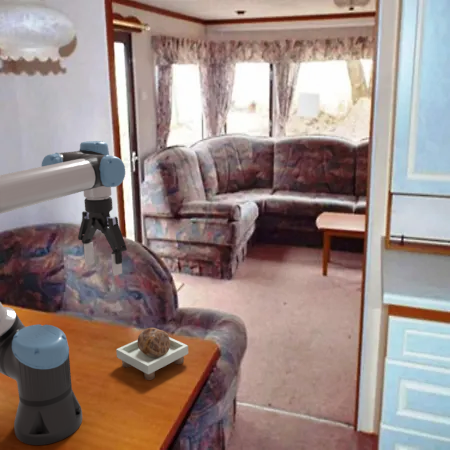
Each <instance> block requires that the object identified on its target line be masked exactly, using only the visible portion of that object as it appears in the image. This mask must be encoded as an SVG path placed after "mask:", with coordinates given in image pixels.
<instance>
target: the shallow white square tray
mask: <svg viewBox="0 0 450 450" xmlns="http://www.w3.org/2000/svg"><path fill="white" fill-rule="evenodd" d="M169 339H170V348H169V350H168V352H167V353H166V354H165V355H164V356H161V357H151V356H147V355H145V354H144V353H142V352H141V351H140V349H139V347H138V339H136V340H134V341H132V342H129V343H127V344H125V345H122V346H121V347H118V348H116V350H115V351H116V358H118V359H119V360H121V365H122V367H123V368H130V367H133V368H136V369H137V370H139V371H141V372H143V373H144V374H143V375H144V379H145V380H147V381H151V380H153V379H155V377H156V376H155V375H156V374H155V373H156V371H158V370H159V369H161V368H164V367H166V366H167V365H170V364H171V363H173V362H174V364H175V365H182V364H183V363H184V361H185V359H184V357H185V356H187V355H188V354H189V344H188V345H187V344H186V343H183V342H182V341H179V340H176V339H174V338H173V337H170V336H169Z"/></svg>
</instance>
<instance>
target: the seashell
mask: <svg viewBox="0 0 450 450" xmlns="http://www.w3.org/2000/svg"><path fill="white" fill-rule="evenodd" d="M169 337H170V336H169V334H168V333H167V332H166V331H164V330H162V329H159V328H156V327H148V328H146V329H145V328H144V329H143V330H142V331H140V333H139V335H138V337H137V340H138V347H139V349H140V351H141V352H142V353H144V354H145V355H147V356H151V357H161V356H164V355H165V354H166V353H167V352H168V350H169V348H170V339H169Z"/></svg>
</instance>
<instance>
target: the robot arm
mask: <svg viewBox="0 0 450 450" xmlns="http://www.w3.org/2000/svg"><path fill="white" fill-rule="evenodd" d="M125 177H126V166H125V163H124V161H123V160H122V159H121V158H119V157H118V156H114V155H110V151H109V145H108V143H107V142H106V141H103V140H102V141H101V140H100V141H99V140H90V141H83V142H80V144H79V150H76V151H67V152H65V151H64V152H55V153H52V154H50V153H49V154H47V155H45V156H44V158H43V159H42V161H41V165H40V166H37V167H34V168H29V169H23V170H19V171H15V172H9V173H3V174H0V215H1V214H5V213H9V212H13V211H17V210H20V209H23V208H27V207H30V206H34V205H39V204H41V203H45V202H49V201H52V200H55V199H59V198H63V197H67V196H70V195H74V194H77V193H82V192H83V198H84V211H82V212H81V217H82V218H81V222H80V226H79V227H80V228H79V232H78V237H77V238H78V241H81V242H82V244H83V253H84V264H85V266H90V265H93V264H95V250H94V240H93V238H94V236H95V234H96V232H97V230H98V231H100V232H101V234H103V235H104V236H105V239H106V241H107V242H108V245H109V246H110V249H111V250H112V252H111V253H110V255H111V267H112V276H114V277H115V276H119V275H122V274H123V265H122V264H123V255H122V253H123V252H125V251H127V250H128V249H127V245H126V243H125V239H124V236H123V233H122V230H121V228H120V226H119V219H118V217H117V216H111V214H110V212H111V211H112V210H113V198H112V197H111V196H112V188H116V187H118V186H120V185H122V183H123V182H124V180H125ZM0 373H1V374H2V375H4V376H6V377H8V378H11V379H13V380H14V381H16V385H17V392H18V398H19V399H18V405H17V409H16V413H15V418H14V423H13V424H14V425H13V426H14V434H15V436H16V438H17V440H19V441H20V442H21V443H24V444H27V445H32V446H44V445H50V444H54V443H57V442H61V441H62V440H64V439H65V440H66V438H68V437H70V436H72V435H73V434H74V433H75V432H77V430H78V429H79V428H80V426H81V425H82V423H83V410H82V407H81V405H80V403H79V400H78V399H77V397H76V395H75V392H74V390H73V387H72V375H71V374H72V373H71V362H70V346H69V344H68V339H67V336H66V334H65V333H64V331H63V330H62V329H60V328H59V327H57V326H54V325H53V324H52V325H51V324H44V325H42V324H40V323H39V324H32V325H31V324H30V325H28V326H25V325H24V324H23V322H22V321H21V319H20V318H19V315H18V314H17V313H16V311H15V309H13V308H12V307H8V306H3V304H2V302H1V301H0Z"/></svg>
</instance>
